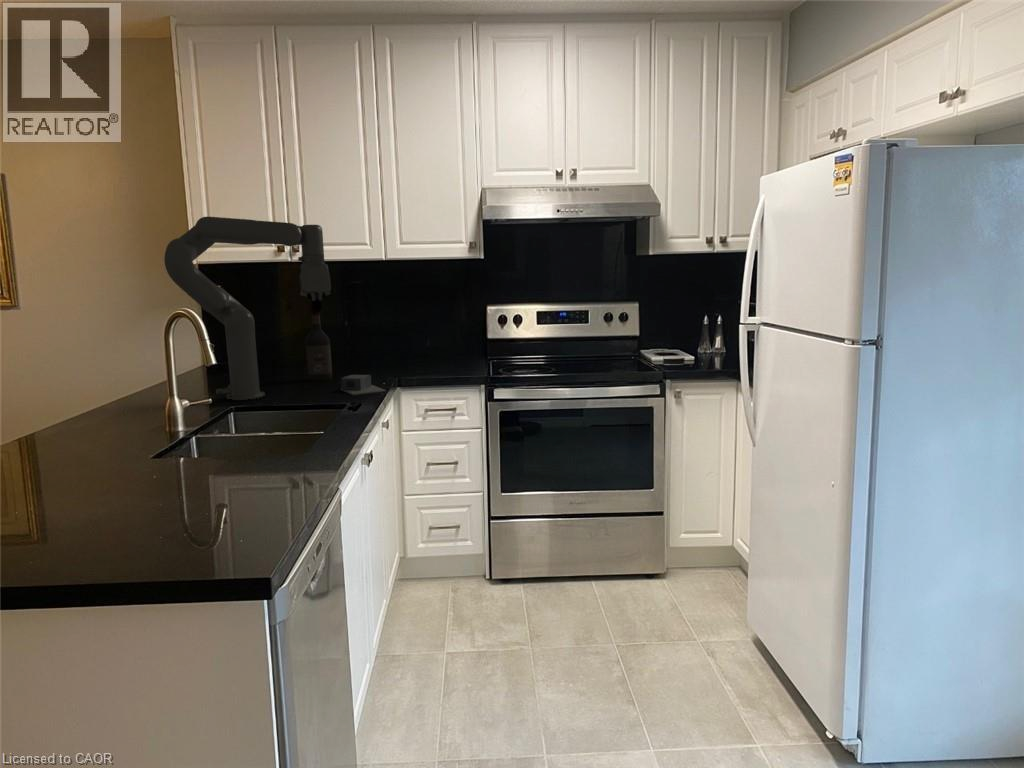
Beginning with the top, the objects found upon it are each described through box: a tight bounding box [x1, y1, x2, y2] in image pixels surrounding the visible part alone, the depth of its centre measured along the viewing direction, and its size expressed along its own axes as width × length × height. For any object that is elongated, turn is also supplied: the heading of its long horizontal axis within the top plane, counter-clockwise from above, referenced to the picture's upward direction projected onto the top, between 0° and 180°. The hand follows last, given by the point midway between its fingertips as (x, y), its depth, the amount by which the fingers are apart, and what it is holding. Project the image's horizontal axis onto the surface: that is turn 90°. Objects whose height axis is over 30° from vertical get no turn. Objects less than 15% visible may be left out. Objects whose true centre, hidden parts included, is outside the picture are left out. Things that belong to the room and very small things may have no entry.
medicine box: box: [340, 374, 372, 391], centre depth 256 cm, size 8×4×9 cm
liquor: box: [304, 305, 333, 383], centre depth 279 cm, size 9×9×30 cm
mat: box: [340, 384, 387, 396], centre depth 254 cm, size 12×14×1 cm
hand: (316, 311), depth 250 cm, fingers closed
